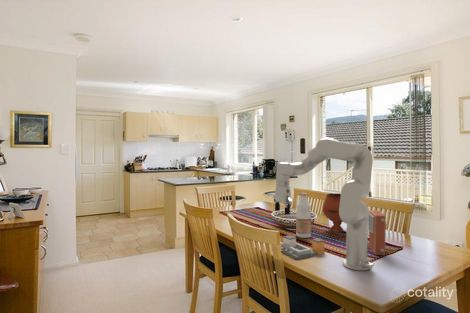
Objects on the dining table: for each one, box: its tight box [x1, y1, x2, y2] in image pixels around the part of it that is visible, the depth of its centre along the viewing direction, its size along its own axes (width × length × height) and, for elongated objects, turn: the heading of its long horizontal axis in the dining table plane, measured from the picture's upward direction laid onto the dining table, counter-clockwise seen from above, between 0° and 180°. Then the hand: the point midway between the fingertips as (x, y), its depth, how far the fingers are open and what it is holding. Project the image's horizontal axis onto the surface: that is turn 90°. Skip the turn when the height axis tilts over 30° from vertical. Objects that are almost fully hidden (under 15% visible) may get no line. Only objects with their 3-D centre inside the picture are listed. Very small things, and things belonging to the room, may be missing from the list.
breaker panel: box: [280, 241, 317, 260], centre depth 168 cm, size 22×13×4 cm, turn 28°
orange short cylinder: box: [311, 237, 325, 255], centre depth 166 cm, size 5×5×7 cm
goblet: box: [322, 192, 344, 233], centre depth 208 cm, size 19×19×25 cm
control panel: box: [368, 209, 387, 256], centre depth 167 cm, size 21×7×15 cm
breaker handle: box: [283, 234, 297, 247], centre depth 170 cm, size 5×5×5 cm
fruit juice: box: [295, 192, 312, 239], centre depth 195 cm, size 9×9×28 cm
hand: (282, 212), depth 177 cm, fingers open, 9 cm apart
